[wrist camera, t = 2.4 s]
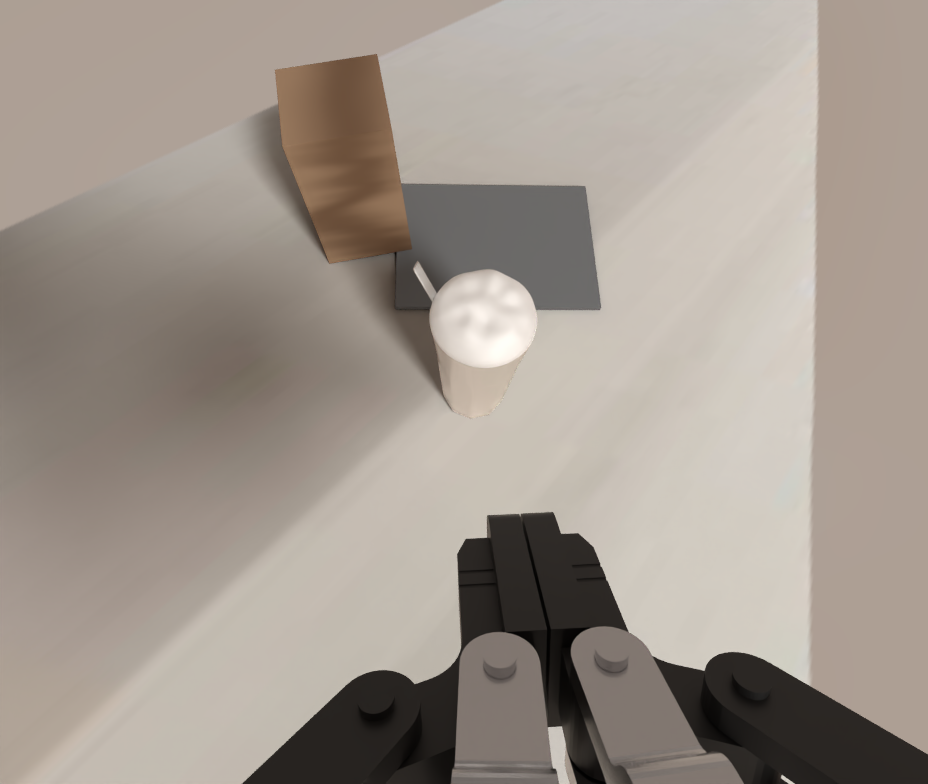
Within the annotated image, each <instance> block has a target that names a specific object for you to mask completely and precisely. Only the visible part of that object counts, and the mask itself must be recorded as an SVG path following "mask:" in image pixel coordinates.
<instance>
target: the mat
mask: <svg viewBox="0 0 928 784" xmlns="http://www.w3.org/2000/svg"><path fill="white" fill-rule="evenodd" d="M401 187H402V193H403V199H404V204H405V210H406V216H407V222H408V228H409V234H410V239H411V245H412V249H411V250H405V251H399V252H397V260H396V295H395V309H431V305H432V301H431V299H430V298H429V296H428V294H427V293H426V291H425V289H424V288H423V286H422V284H421V282H420V281H419V279H418V277H417V276H416V274H415V272H414V270H413V268H414V266H415V264H416V262H417V261H418V262H419V263H420V265H421V266H422V268H423V270H424V272H425V273H426V275H427V277H428V279H429V280H430V282H431V284H432V286H433V287H434V289H435V291H436V293H438V291H439V290H440V289H441V288H442V286H443V285H444V284H445V283H446V282H448V281H449V280H450V279H452V278H453V277H455V276H457V275H459V274H463V273H467V272H473V271H478V270H484V269H491V270H496V271H498V272H501V273H503V274H505V275H507V276H509V277H511V278H513V279H514V280H516V281H518V282H519V283H520V284H522V285H523V286H524V287H525V288H526V289H527V291H528V292H529V294H530V295H531V297H532V300H533V302H534V305H535V309H536V310H600V308H601V303H600V295H599V288H598V280H597V272H596V265H595V257H594V249H593V241H592V234H591V226H590V218H589V211H588V203H587V195H586V188H585V186H516V185H439V184H401Z"/></svg>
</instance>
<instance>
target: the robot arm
mask: <svg viewBox="0 0 928 784" xmlns="http://www.w3.org/2000/svg"><path fill="white" fill-rule="evenodd" d="M457 558H458V585H459V611H460V630H461V651H460V653H459V656H458V658H457V659H456V661H455V662H454V663H453V664H452V665H451V666H450V668H448V669H447V670H446V671H445V672H443V673H441V674H440V675H438V676H436V677H434V678H431V679H429V680H426V681H423V682H420V683H418V684H414V683H413V682H412V681H411V680H410V679H409V678H407V677H406V676H404V675H402V674H400V673H397V672H394V671H387V670H379V671H373V672H369V673H366V674H363V675H361V676H359V677H357V678H355V679H354V680H352V681H351V682H350V683H349V684H347V685H346V686H345V687H344V688H343V689H342V690H341V691H340V692H339V693H338V694H337V695H336V696H334V697H333V698H332V699H331V700H330V701H329V702H328V703H327V704H326V705H325V706H324V707H323V708H322V709H321V710H320V711H319V712H318V713H317V714H315V715H314V716H313V717H312V718H311V719H310V720H309V721H308V722H307V723H306V724H305V725H304V726H303V727H302V728H301V729H300V730H299V731H297V732H296V733H295V734H294V735H293V736H292V737H291V738H290V739H289V740H288V741H287V742H286V743H285V744H284V745H283V746H282V747H281V748H279V749H278V750H277V751H276V752H275V753H274V754H273V755H272V756H271V757H270V758H269V759H268V760H267V761H266V762H265V763H264V764H263V765H261V766H260V767H259V768H258V769H257V770H256V771H255V772H254V773H253V774H252V775H251V776H250V777H249V778H248V779H247V780H246V781H245V782H243V783H242V784H559V781H558V776H557V771H556V769H553V767H552V761H551V753H550V744H549V735H548V727H557V726H562V728H563V733H564V737H565V742H566V751H565V767H566V772H567V776H568V779H569V782H570V784H788V783H787V782H785V781H784V780H782V779H781V775H783V776H785V777H786V778H788V779H789V780H791V781H792V782H793V783H795V784H928V754H926V753H924V752H923V751H921V750H919V749H917V748H916V747H914V746H912V745H910V744H909V743H907V742H905V741H904V740H902V739H900V738H898V737H897V736H895V735H893V734H891V733H890V732H888V731H886V730H884V729H883V728H881V727H879V726H878V725H876V724H874V723H872V722H871V721H869V720H867V719H866V718H864V717H862V716H860V715H859V714H857V713H855V712H853V711H851V710H850V709H848V708H846V707H845V706H843V705H841V704H840V703H838V702H836V701H835V700H833V699H831V698H829V697H828V696H826V695H824V694H822V693H821V692H819V691H817V690H816V689H814V688H812V687H810V686H809V685H807V684H805V683H803V682H802V681H800V680H798V679H797V678H795V677H793V676H791V675H790V674H788V673H786V672H784V671H783V670H781V669H779V668H778V667H776V666H774V665H772V664H771V663H769V662H767V661H765V660H763V659H761V658H758V657H756V656H753V655H749V654H745V653H739V652H728V653H723V654H719V655H717V656H715V657H713V658H712V659H711V660H710V661H709V662H708V664H707V665H706V668H705V671H702V670H698V669H693V668H688V667H683V666H679V665H674V664H671V663H667V662H664V661H662V660H659V659H657V658H655V657H653V656H652V655H651V653H650V651H649V650H648V648H647V647H646V645H645V644H644V643H643V642H642V641H641V640H639V639H638V638H637V637H636V636H634V635H632V634H631V633H629V632H628V630H627V627H626V625H625V622H624V620H623V617H622V615H621V613H620V610H619V608H618V605H617V603H616V601H615V598H614V596H613V593H612V591H611V588H610V586H609V584H608V581H606V576H605V574H604V572H603V569H602V567H600V562H599V560H598V557H597V555H596V552H595V550H594V547H593V546H592V545H590V544H589V543H588V542H587V541H586V540H585V539H584V538H583V537H582V536H581V535H580V534H578V533H575V534H561V533H560V530H559V527H558V524H557V521H556V518H555V515H554V513H553V512H546V513H525V514H521V516H520V515H519V514H507V515H487V538H476V539H466V540H465V541H464V543H463V545H462V547H461V549H460V550H459V552H458V554H457Z"/></svg>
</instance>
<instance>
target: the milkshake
mask: <svg viewBox="0 0 928 784" xmlns="http://www.w3.org/2000/svg"><path fill="white" fill-rule="evenodd" d="M413 270H414V272H415V274H416V276H417V277H418V279H419V281H420V282H421V284H422V286H423V288H424V289H425V291H426V293H427V294H428V296H429V298H430V299H431V301H432V305H431V309H430V314H429V323H430V328H431V332H432V336H433V341H434V345H435V349H436V354H437V359H438V366H439V372H440V378H441V383H442V389H443V395H444V397H445V399H446V401H447V402H448V404H449V405H450V407H451V409H452V410H453V412H456V413H458V414H461V415H463V416H465V417H468V418H470V419H472V418H477V417H482V416H487V415H489V414H490V413H491V412H492V411H493V410H494V409H495V408H496V407H497V406H498V405H499V404H500V403H501V401H502V399H503V397H504V395H505V393H506V391H507V389H508V387H509V385H510V383H511V381H512V379H513V376H514V374H515V372H516V370H517V368H518V366H519V364H520V362H521V360H522V359H523V357H524V355H525V353H526V352H527V350H528V348H529V346H530V344H531V343H532V341H533V339H534V336H535V333H536V328H537V313H536V309H535V305H534V302H533V300H532V297H531V295H530V294H529V292H528V291H527V289H526V288H525V287H524V286H523V285H522V284H520V283H519V282H518V281H516V280H514V279H513V278H511V277H509V276H507V275H505V274H503V273H501V272H498V271H496V270H491V269H484V270H478V271H473V272H467V273H463V274H459V275H457V276H455V277H453V278H452V279H450V280H449V281H448V282H446V283H445V284H444V285H443V286H442V288H441V289H440V290H439V291H438V293H436V291H435V289H434V287H433V286H432V284H431V282H430V280H429V279H428V277H427V275H426V273H425V272H424V270H423V268H422V266H421V265H420V263H419V262H418V261H417V262H416V264H415V266H414V268H413Z"/></svg>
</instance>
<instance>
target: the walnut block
mask: <svg viewBox="0 0 928 784" xmlns="http://www.w3.org/2000/svg"><path fill="white" fill-rule="evenodd" d="M275 74H276V85H277V94H278V106H279V116H280V127H281V138H282V147H283V149H284V152H285V154H286V157H287V159H288V162H289V164H290V167H291V169H292V172H293V174H294V177H295V179H296V181H297V184H298V186H299V189H300V191H301V194H302V196H303V199H304V201H305V204H306V206H307V209H308V211H309V214H310V216H311V219H312V221H313V224H314V226H315V229H316V231H317V234H318V236H319V238H320V241H321V243H322V246H323V248H324V251H325V253H326V256H327V258H328V261H329V263H336V262H341V261H347V260H353V259H359V258H365V257H370V256H376V255H382V254H388V253H393V252H399V251H405V250H411V249H412V245H411V239H410V234H409V228H408V222H407V216H406V210H405V204H404V199H403V193H402V187H401V181H400V175H399V169H398V164H397V158H396V152H395V146H394V140H393V134H392V129H391V123H390V118H389V113H388V108H387V103H386V98H385V93H384V88H383V82H382V77H381V72H380V67H379V62H378V57H377V54H374V55H368V56H362V57H355V58H349V59H342V60H336V61H329V62H323V63H316V64H310V65H303V66H297V67H290V68H284V69H278V70H275Z"/></svg>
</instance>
